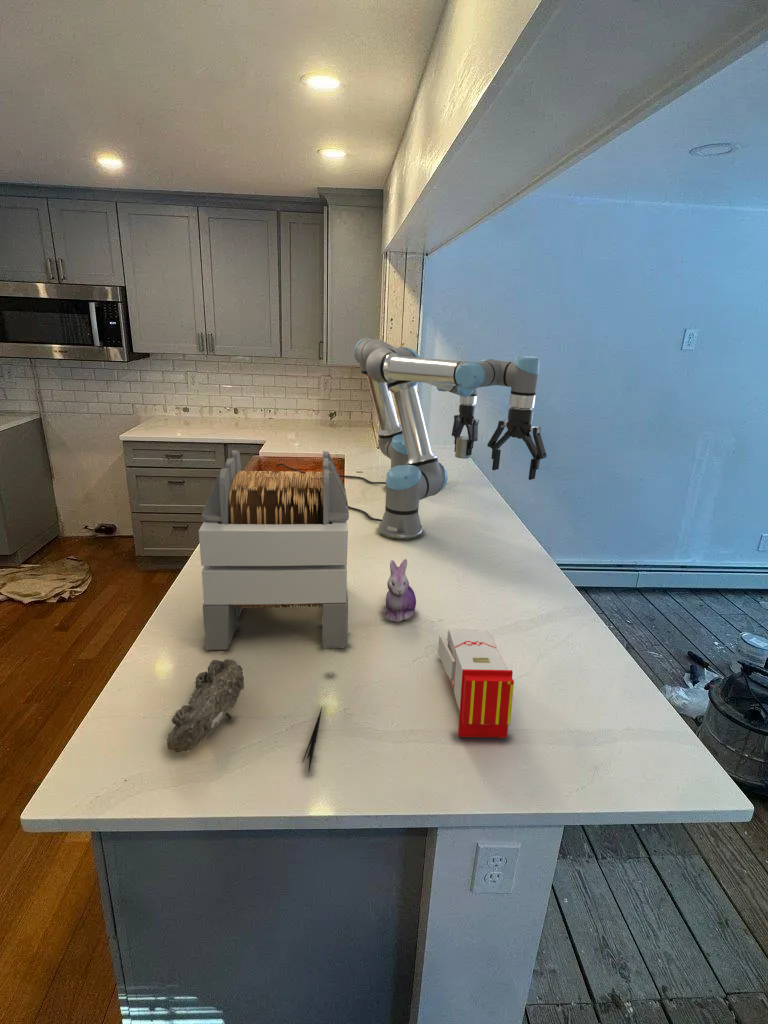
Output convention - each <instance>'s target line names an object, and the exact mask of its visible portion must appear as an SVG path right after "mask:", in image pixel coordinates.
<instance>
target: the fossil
mask: <svg viewBox="0 0 768 1024" xmlns="http://www.w3.org/2000/svg"><path fill="white" fill-rule="evenodd" d="M243 670H244V669H243V667H242V665H240V664H237V662H236V661H235V660H234V659H232V658H231V659H227V658H226V659H224V660H223V661H222V660H217V659H212V660H211V661H210V663H209V665H208V666H207V671H201V672H199V673H198V674H197V675H196V676H195V680H194V684H195V685H194V687H195V689H194V690H193V693H192V694H191V697H190V698H189V700H188V704H184V705H182V706H181V707H180V709H177V710H176V711H175V713H174V715H173V716H172V718H171V723H172V724H173V727H172V730H171V731H170V732H168V734H167V738H166V741H167V742H166V745H167V749H168V750H169V751H173V752H174V753H176V754H178V753H182V752H188V751H189V752H192V751H193V750H195V748H196V747H197V746H199V744H200V743H201V742H203V741H204V740H205V739H206V738H207V737H208V736H209V735H210V734H211V733H212V732H214V730H215V729H217V727H218V726H219V724H220V722H221V721H222V720H223V719H224V718H225V716H226V717H227V719H229V720H233V717H232V715H230V714H229V710H230V709H231V708H234V706H235V704H236V703H237V702H238V699H239V697H240V695H241V693H242V691H243V690H245V689H244V688H245V675H244V671H243Z"/></svg>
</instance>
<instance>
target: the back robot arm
mask: <svg viewBox="0 0 768 1024" xmlns="http://www.w3.org/2000/svg"><path fill="white" fill-rule="evenodd" d="M379 348H396V347H395V346H393V345H391V344H389V343H388V342H387V341H384V340H382V339H380V338H375V337H372V336H371V337H370V336H368V337H363V338H361V339H360V340H358V342H357V343H356V345H355V346H354V349H353V354H354V358H355V360H356V362H357V363H358V364H359V368H360V372H361V375H362V376H364V377H366V381H367V385H368V387H369V391H370V396H371V399H372V404H373V407H374V411H375V415H376V418H377V422H378V425H379V430H378V432H377V436H378V448H379V450H380V451H381V453H382V454H383V455H384V456H385V457H387V458H388V459H389V460H390V469H391V468H393V467H395V466H399V465H402V466H403V465H406V463H407V461H408V459H409V457H408V453H407V449H406V444H405V440H404V436H403V432H402V428H401V423H400V421H399V417H398V413H397V411H396V410H397V409H396V406H395V403H394V402H395V401H394V399H393V398H394V397H393V395H392V394H393V393H392V392H391V391H389V390H388V387H387V383H380V382H376V381H374V380H373V379H372V378H371V377H370V376H369V375H368V373H367V370H366V361H367V358H368V356H369V355H370V354H371V353H372V352H373V351H374V350H376V349H379ZM427 384H429V385H431V386H433V387H435V388H436V389H437V391H439V392H449V393H452V394H454V395H458V397H459V406H458V414H455V415H453V426H452V429H451V430H452V431H451V436H452V437H453V438H454V440H453V441H454V443H453V444H454V453H455V451H456V441H457V437H458V436H461V435H462V432H463V430H464V427H465V428H466V431H467V437H469V441H468V442H467V452H466V456H469V455H470V456H472V452H473V449H474V443H475V442H478V441H479V440H478V437H479V423H480V419H476V418H475V413H476V408H477V406H476V404H477V399H478V390H479V388H475V389H465V388H462V387H460V386H453V385H443V384H433V383H427ZM275 466H276V467H279V466H281V467H284V468H286V469H289V470H292V471H297V472H300V474H301V473H302V474H303V473H304V474H305V473H306V472H307V471H302V470H299V469H296V468H294V467H290V466H289V465H286V464H284V463H277V464H276V465H275ZM313 473H314V474H315V473H316V472H313ZM339 476H340V478H347V479H348V478H351V479H359V480H362V481H363V480H364V481H365V482H367V483H368V484H371V485H372V484H373V485H386V481H370V480H368V479H367V478H365V477H362V476H358V475H357V476H356V475H345V474H344V475H343V474H339Z"/></svg>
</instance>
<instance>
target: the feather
mask: <svg viewBox="0 0 768 1024" xmlns="http://www.w3.org/2000/svg"><path fill="white" fill-rule="evenodd" d="M329 675H330V676H331V675H332V674H331V673H330V674H329ZM322 710H323V707H321V708H320V710H319V713H318V716H317V719H316V723H315V725H314V728H313V731H312V733H311V737H310V739H309V742H308V745H307V748H306V751H305V754H304V757H303V760H302V763H301V767H302V765H303V763H304V761H305V758H308V759H309V760H308V762H307V763H308V764H307V766H308V771H310V770H311V766H312V765H311V764H312V760H313V757H315V756H314V755H315V751H316V749H315V746H317V739H318V733H319V729H320V722H321V717H322V712H323V711H322ZM313 754H314V755H313ZM306 755H307V757H306Z"/></svg>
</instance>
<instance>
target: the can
mask: <svg viewBox="0 0 768 1024" xmlns="http://www.w3.org/2000/svg"><path fill="white" fill-rule="evenodd" d="M468 441H469V437H468V436H466V435H460V436H458V437H457V441H456V451H455V452H454V457H455V458H457V459H463V460H464V459H465V460H466V459H470V458H471V455H469V456H466V452H467V442H468Z"/></svg>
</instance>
